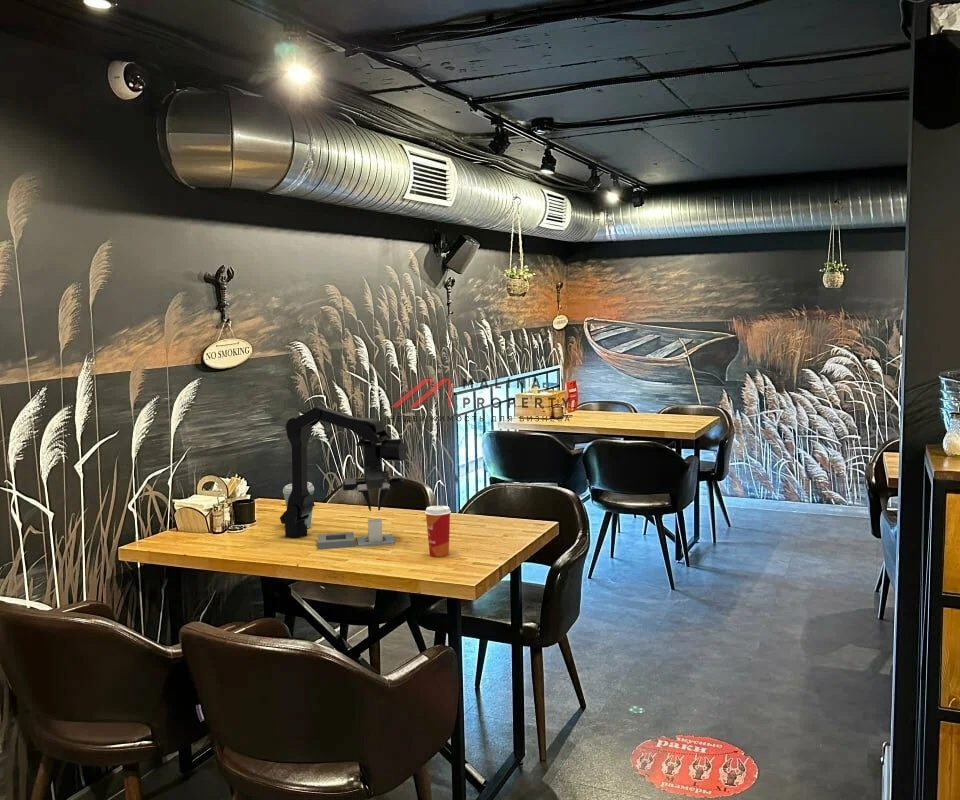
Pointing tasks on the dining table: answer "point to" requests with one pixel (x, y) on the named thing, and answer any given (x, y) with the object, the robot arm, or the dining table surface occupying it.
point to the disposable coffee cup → (287, 492)
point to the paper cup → (438, 530)
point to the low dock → (362, 542)
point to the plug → (374, 530)
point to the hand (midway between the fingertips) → (374, 510)
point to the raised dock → (336, 540)
